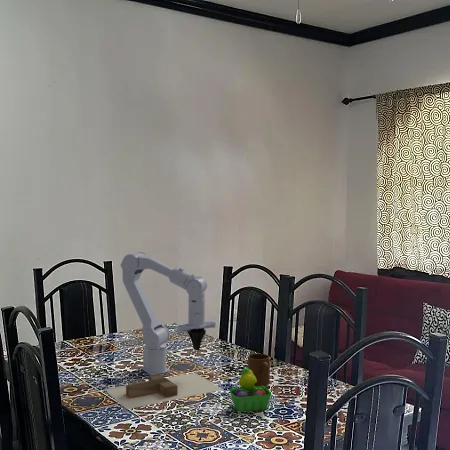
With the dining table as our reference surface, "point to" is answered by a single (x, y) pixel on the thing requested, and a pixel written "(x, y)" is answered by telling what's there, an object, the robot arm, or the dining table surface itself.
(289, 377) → the dining table surface
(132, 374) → the dining table surface
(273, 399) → the dining table surface
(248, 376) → the fruit basket
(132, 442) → the dining table surface
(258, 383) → the mug
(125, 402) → the mat
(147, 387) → the t block
